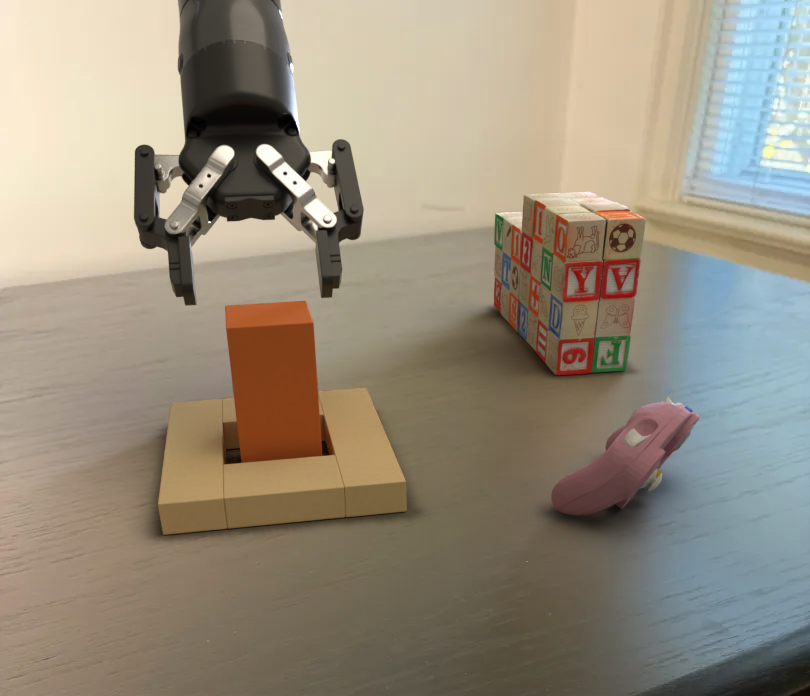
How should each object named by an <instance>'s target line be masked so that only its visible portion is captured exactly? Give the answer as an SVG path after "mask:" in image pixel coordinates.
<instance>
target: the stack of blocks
mask: <svg viewBox="0 0 810 696" xmlns="http://www.w3.org/2000/svg"><path fill="white" fill-rule="evenodd" d="M522 200H523V202H522V211H510V212H507V211H506V212H495V214H494V237H493V243H494V246H495V247H494V268H493V269H494V271H493V275H494V283H493V284H494V287H493V307H494V308H495V309H496V310H498V312H499V313H500V315H501V316H502V317H503V319H505V321H506V322H508V324H509V325H510V326H511V327H512V328H513V330H515V332H516V333H518V334H519V335H520V336H521V338H522V339H523V340H524V341H525V342H526V343H527V344H528V345H529V346H530V347H531V348H532V349H533V350H534V351H535V353H536V355H537V356H538V357H539V358H540V359H541V360H542V362H544V364H545V365H546V366H547V368H549V370H550V371H551V372H552V373H553V374H554V375H555V376H569V375H570V376H571V375H582V374H591V373H593V374H595V373H610V372H625V371H626V370H627V368H628V361H629V355H630V347H631V340H632V335H631V331H632V325H633V319H634V310H635V301H636V296H637V294H638V288H639V287H638V286H639V278H640V271H641V270H640V269H641V264H642V263H641V262H642V260H641V257H642V252H643V251H642V250H643V245H644V244H643V243H644V237H645V231H646V230H645V229H646V222H647V218H646V217H644V216H642V215H640V214H638V213H635V212H633V211H631V208H630V207H628V206H626V205H624V204H622V203H619V202H617V201H612V200H610V199H607V198H605V197H602V196H600V195H598V194H595V193H593V192H592V191H574V192H558V193H557V192H556V193H555V192H554V193H531V194H523V199H522Z"/></svg>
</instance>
